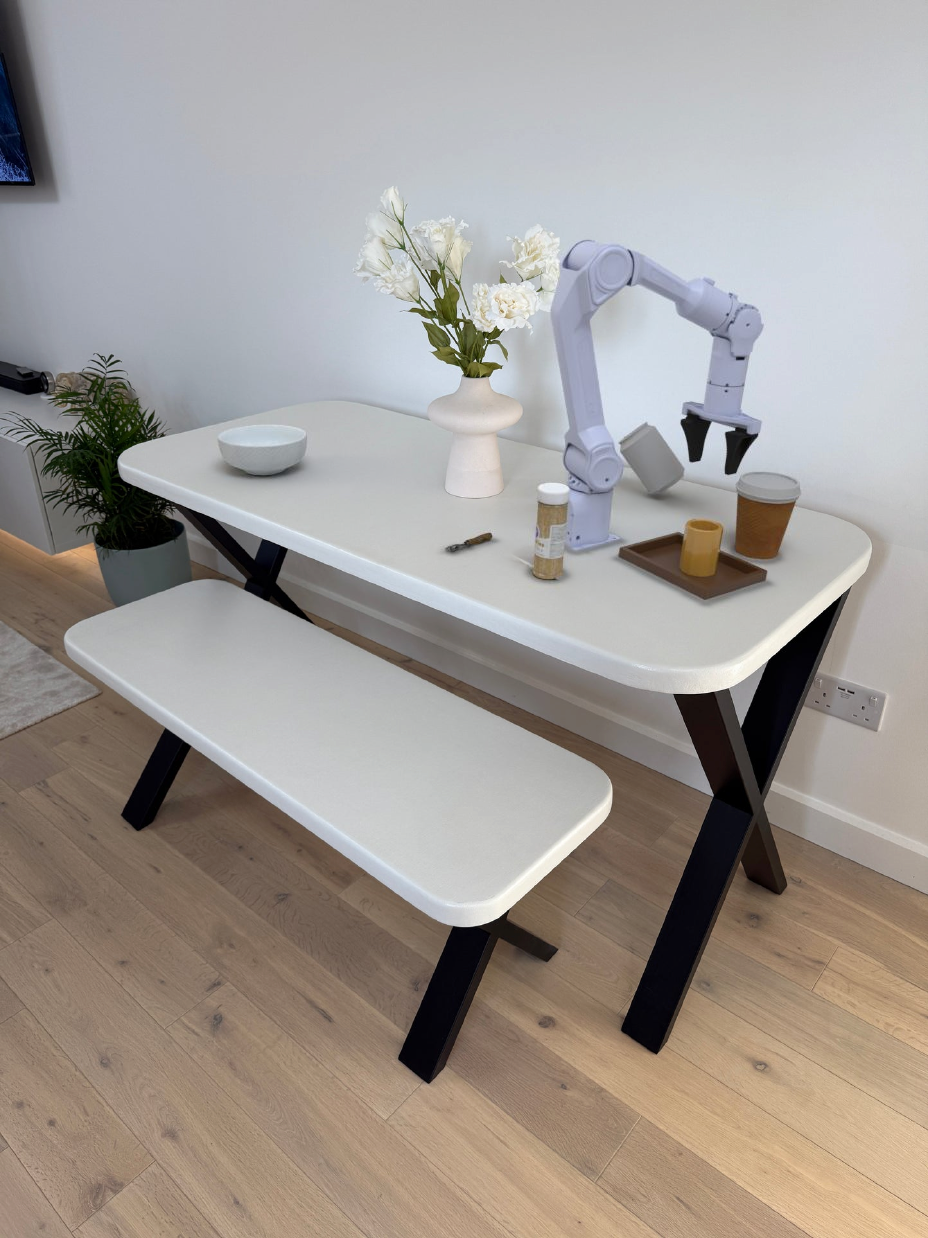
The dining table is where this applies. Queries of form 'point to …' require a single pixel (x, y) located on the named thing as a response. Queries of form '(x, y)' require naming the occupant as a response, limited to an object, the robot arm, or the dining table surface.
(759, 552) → the disposable coffee cup
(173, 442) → the dining table surface
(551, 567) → the sprinkles bottle
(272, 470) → the cereal bowl
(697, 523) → the cup
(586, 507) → the robot arm
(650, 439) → the can
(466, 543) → the can opener
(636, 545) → the tray
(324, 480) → the dining table surface
